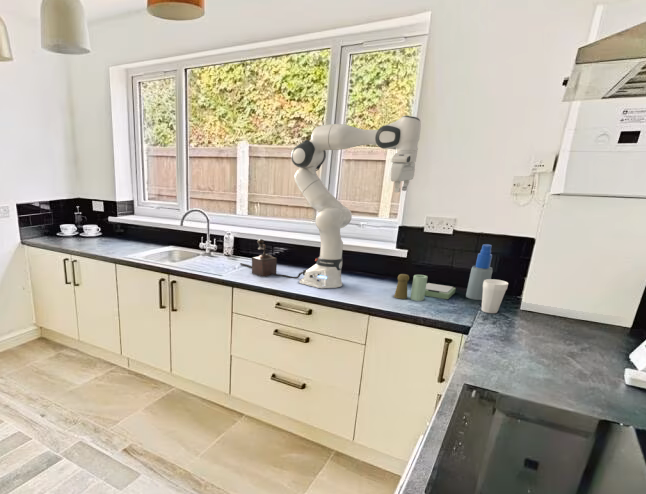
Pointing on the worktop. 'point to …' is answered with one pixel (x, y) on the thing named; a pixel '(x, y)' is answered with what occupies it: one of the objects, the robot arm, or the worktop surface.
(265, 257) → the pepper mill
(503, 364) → the worktop surface
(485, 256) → the spray bottle
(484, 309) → the foam cup
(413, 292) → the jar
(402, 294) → the pepper shaker
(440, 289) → the scale
